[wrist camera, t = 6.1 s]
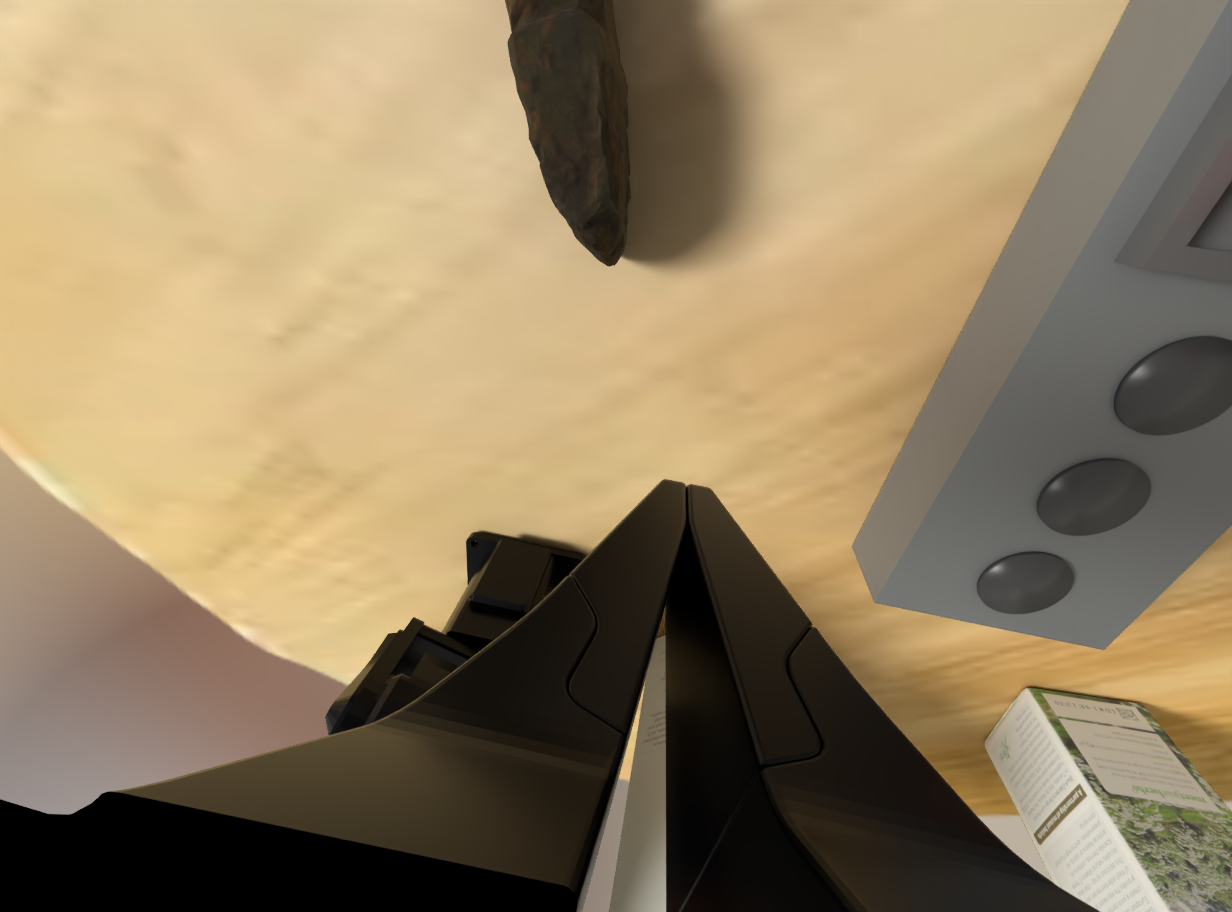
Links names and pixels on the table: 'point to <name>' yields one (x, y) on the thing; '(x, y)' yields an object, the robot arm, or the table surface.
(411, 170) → the table surface
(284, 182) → the table surface
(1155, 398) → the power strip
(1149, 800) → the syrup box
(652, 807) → the skincare box
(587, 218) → the hand tool
